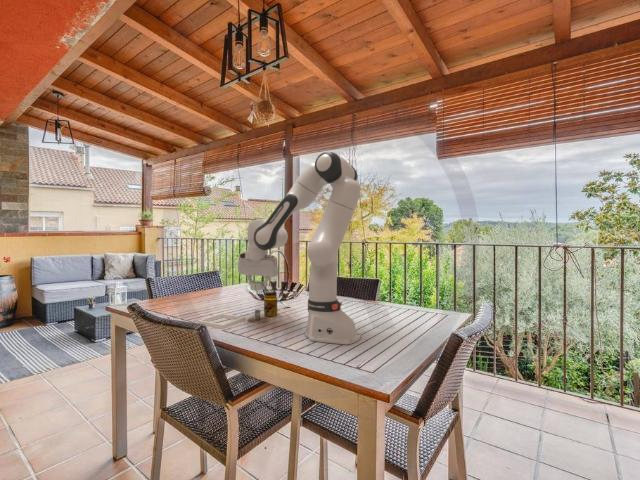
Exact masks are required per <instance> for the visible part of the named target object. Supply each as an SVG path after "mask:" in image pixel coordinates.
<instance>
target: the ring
mask: <svg viewBox="0 0 640 480" xmlns="http://www.w3.org/2000/svg"><path fill="white" fill-rule="evenodd" d="M252 281H253V282H250V285H249V286H250V287H249V288H250V290H251V291H263V290H265V286H262V282H263V281H260V280H256V281H255V280H252Z"/></svg>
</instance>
